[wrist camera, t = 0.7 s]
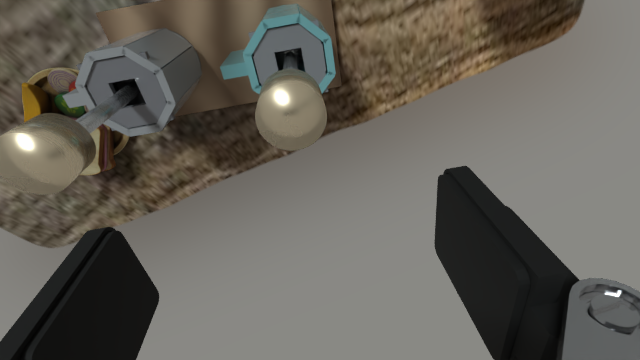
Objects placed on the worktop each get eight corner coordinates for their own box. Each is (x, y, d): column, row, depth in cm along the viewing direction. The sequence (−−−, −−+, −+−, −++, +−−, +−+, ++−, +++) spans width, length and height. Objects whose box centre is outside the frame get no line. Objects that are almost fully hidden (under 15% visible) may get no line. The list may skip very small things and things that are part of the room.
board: (326, -31, 37) (327, -31, 36) (340, 83, 44) (341, 86, 43) (100, 11, 37) (95, 12, 36) (150, 118, 44) (147, 121, 43)
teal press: (316, -2, 37) (327, 8, 27) (326, 68, 42) (338, 98, 31) (226, 15, 38) (204, 30, 27) (245, 83, 42) (232, 118, 32)
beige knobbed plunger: (312, 21, 31) (332, 60, 17) (321, 78, 34) (344, 152, 20) (256, 31, 31) (229, 79, 17) (269, 88, 34) (256, 168, 20)
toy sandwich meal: (140, 89, 43) (125, 101, 39) (126, 172, 49) (111, 190, 45) (28, 48, 39) (-2, 56, 35) (28, 144, 45) (2, 160, 41)
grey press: (187, 22, 38) (150, 41, 28) (210, 89, 42) (185, 126, 32) (98, 39, 38) (29, 63, 28) (130, 104, 42) (80, 145, 32)
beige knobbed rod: (156, 50, 31) (49, 112, 17) (178, 105, 34) (101, 195, 20) (100, 60, 31) (-52, 130, 17) (127, 114, 34) (15, 211, 20)
